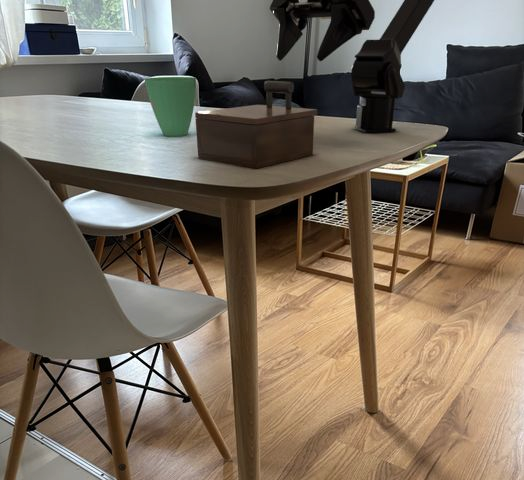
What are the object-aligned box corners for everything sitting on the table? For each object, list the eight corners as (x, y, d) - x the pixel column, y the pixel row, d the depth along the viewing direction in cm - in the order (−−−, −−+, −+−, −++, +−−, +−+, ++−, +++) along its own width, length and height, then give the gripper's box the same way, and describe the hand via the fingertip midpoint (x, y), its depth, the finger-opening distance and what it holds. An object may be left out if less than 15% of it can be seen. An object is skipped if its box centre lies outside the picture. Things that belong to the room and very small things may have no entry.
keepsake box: (255, 146, 90) (254, 110, 87) (312, 155, 82) (314, 115, 79) (198, 158, 81) (195, 118, 78) (256, 168, 74) (256, 125, 71)
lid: (258, 109, 87) (257, 79, 85) (317, 115, 80) (318, 82, 78) (195, 118, 78) (192, 84, 76) (256, 125, 71) (255, 88, 68)
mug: (203, 136, 100) (200, 78, 94) (153, 139, 97) (146, 80, 92) (192, 126, 112) (188, 75, 107) (146, 129, 109) (140, 76, 104)
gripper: (272, -64, 83) (230, 25, 84) (364, -83, 71) (315, 21, 72) (307, -10, 92) (269, 70, 93) (395, -19, 80) (350, 73, 81)
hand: (297, 59), depth 84 cm, fingers open, 9 cm apart
